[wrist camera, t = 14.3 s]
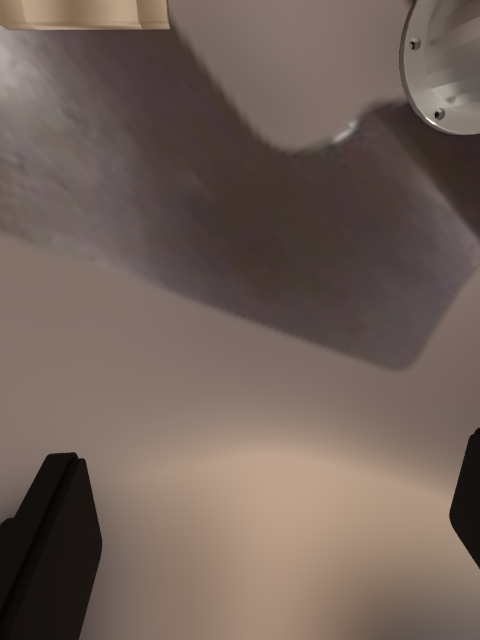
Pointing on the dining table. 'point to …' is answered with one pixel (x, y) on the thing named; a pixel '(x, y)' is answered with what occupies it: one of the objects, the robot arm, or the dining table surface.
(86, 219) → the dining table surface
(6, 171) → the dining table surface
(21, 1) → the frame
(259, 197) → the dining table surface
